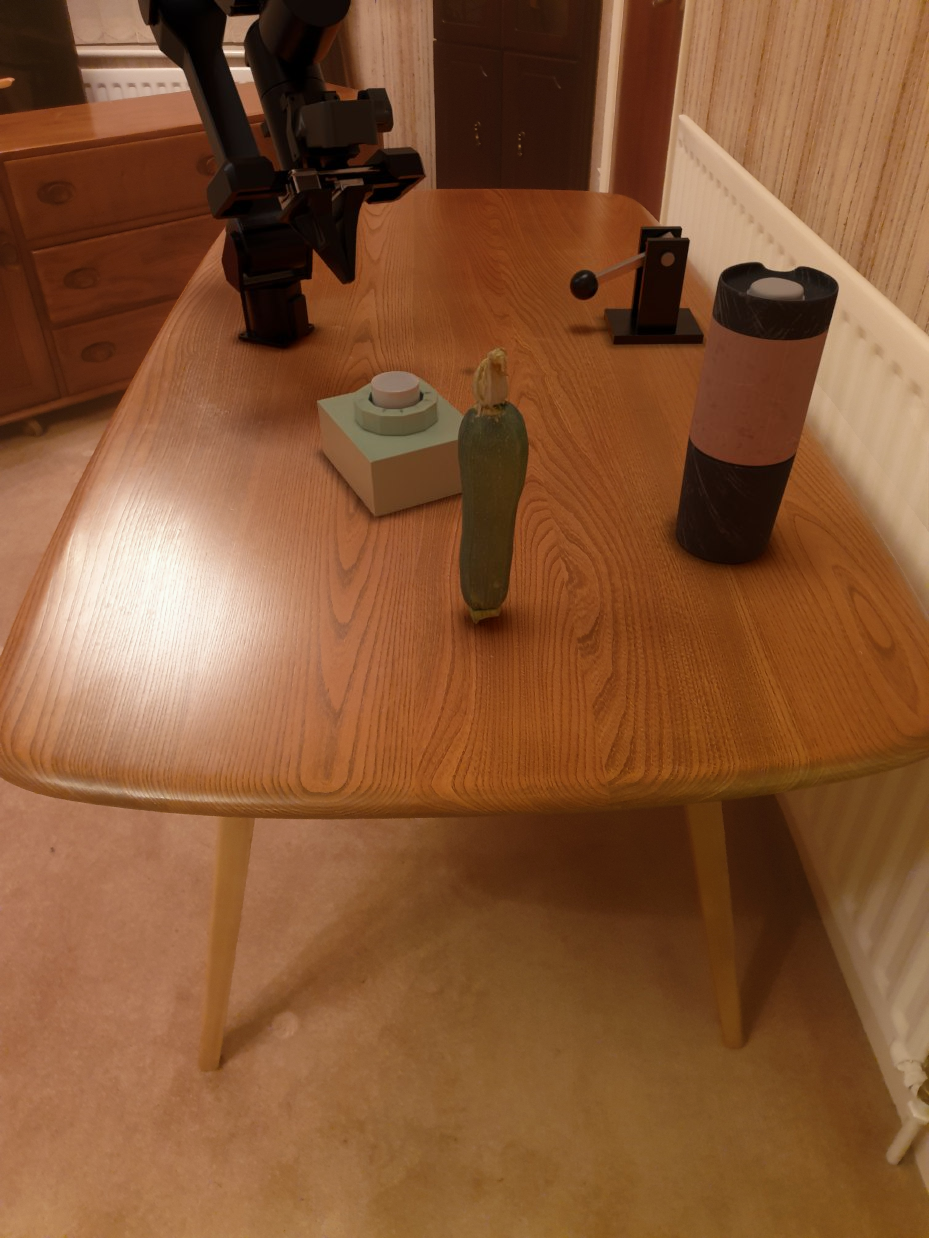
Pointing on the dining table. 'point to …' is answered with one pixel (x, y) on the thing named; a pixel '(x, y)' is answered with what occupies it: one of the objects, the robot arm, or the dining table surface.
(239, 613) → the dining table surface
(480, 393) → the vegetable
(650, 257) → the bracket
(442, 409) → the push button box
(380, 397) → the pink push button
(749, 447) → the travel mug
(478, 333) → the dining table surface
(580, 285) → the lever
